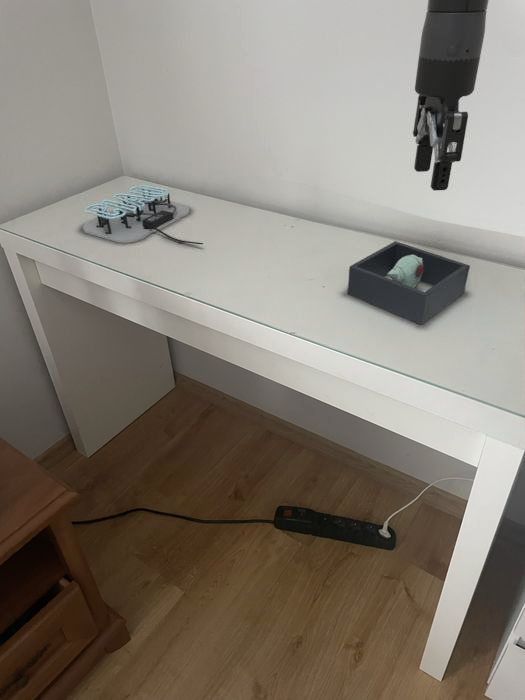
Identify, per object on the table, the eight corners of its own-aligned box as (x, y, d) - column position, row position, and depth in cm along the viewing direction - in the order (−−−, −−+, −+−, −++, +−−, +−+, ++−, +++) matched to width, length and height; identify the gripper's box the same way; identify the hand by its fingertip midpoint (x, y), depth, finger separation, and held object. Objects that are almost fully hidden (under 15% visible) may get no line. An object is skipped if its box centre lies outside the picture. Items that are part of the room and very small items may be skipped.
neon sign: (181, 239, 94) (70, 210, 107) (184, 261, 97) (75, 230, 110) (247, 202, 108) (142, 180, 122) (248, 221, 111) (145, 198, 124)
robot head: (407, 280, 88) (413, 243, 84) (429, 289, 86) (436, 250, 82) (380, 299, 84) (384, 260, 80) (402, 307, 81) (408, 268, 77)
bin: (463, 293, 84) (470, 265, 81) (421, 325, 77) (426, 295, 74) (391, 267, 92) (395, 240, 89) (347, 294, 85) (349, 266, 82)
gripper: (501, 59, 62) (472, 195, 71) (460, 45, 73) (440, 164, 83) (437, 61, 61) (417, 197, 71) (406, 47, 73) (392, 166, 83)
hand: (429, 179), depth 77 cm, fingers open, 8 cm apart
